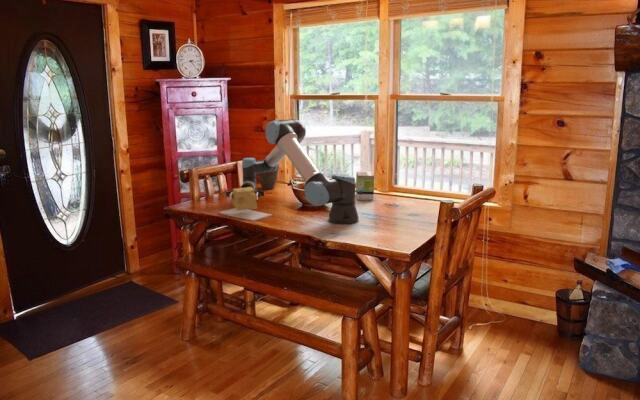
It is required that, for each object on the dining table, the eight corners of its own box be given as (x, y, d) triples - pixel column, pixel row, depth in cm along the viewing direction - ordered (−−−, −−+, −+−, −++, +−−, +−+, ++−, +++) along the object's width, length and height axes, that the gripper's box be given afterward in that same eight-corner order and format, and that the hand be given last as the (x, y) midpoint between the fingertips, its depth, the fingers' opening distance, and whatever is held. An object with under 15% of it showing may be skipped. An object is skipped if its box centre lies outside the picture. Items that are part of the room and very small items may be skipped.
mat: (271, 215, 271) (271, 214, 271) (253, 221, 261) (253, 219, 261) (237, 208, 287) (237, 207, 286) (219, 213, 277) (219, 212, 276)
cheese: (257, 209, 269) (256, 190, 267) (236, 211, 265) (235, 191, 263) (252, 204, 279) (251, 186, 276) (232, 206, 275) (231, 187, 272)
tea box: (374, 200, 305) (374, 175, 301) (357, 200, 305) (357, 175, 301) (372, 194, 319) (372, 170, 316) (355, 194, 319) (355, 171, 316)
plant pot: (251, 189, 338) (250, 164, 334) (268, 185, 349) (267, 161, 345) (267, 192, 329) (266, 167, 325) (284, 188, 340) (283, 164, 336)
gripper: (270, 195, 290) (267, 204, 270) (225, 195, 290) (219, 204, 269) (270, 182, 289) (267, 190, 268) (225, 182, 288) (219, 190, 267)
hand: (243, 197), depth 268 cm, fingers closed on cheese, 13 cm apart
